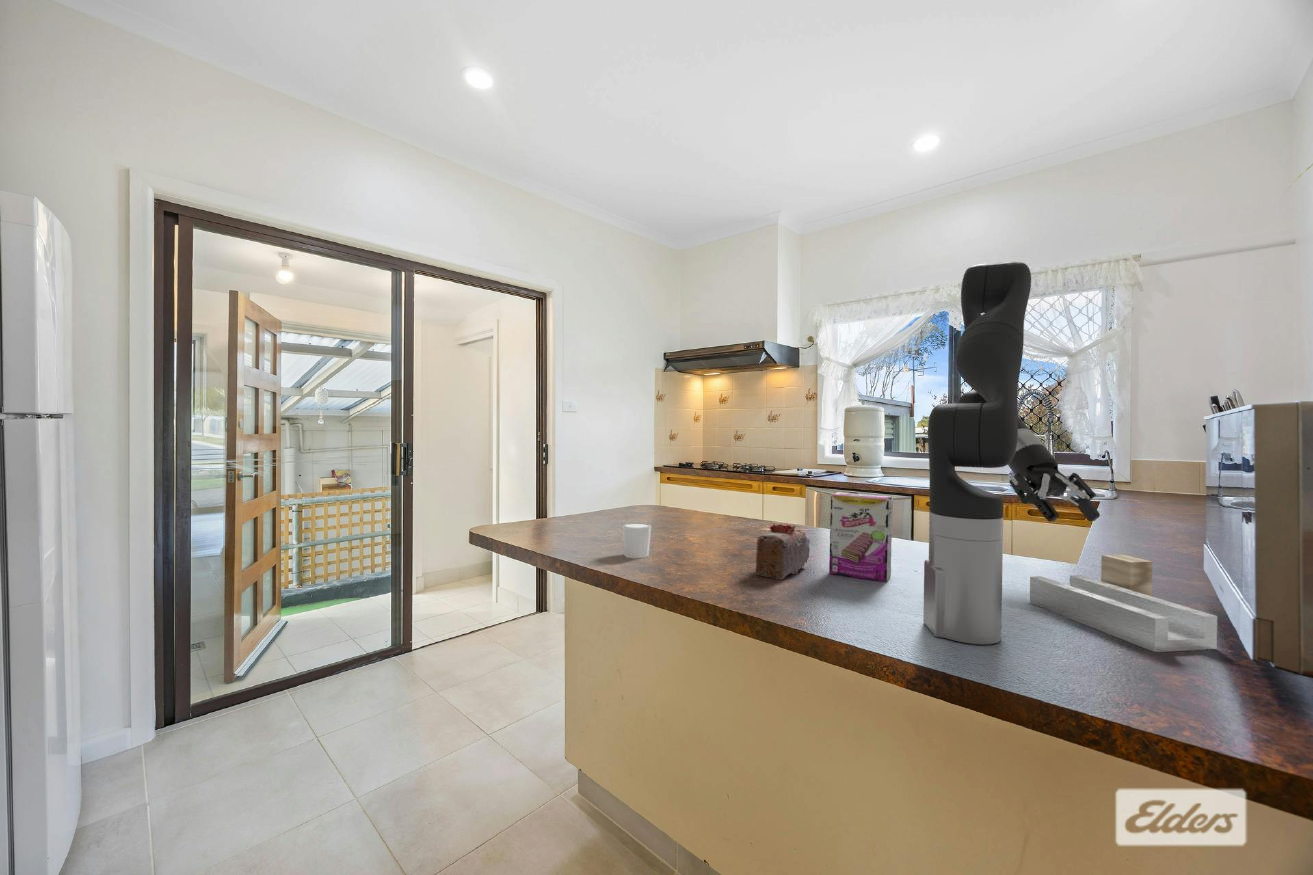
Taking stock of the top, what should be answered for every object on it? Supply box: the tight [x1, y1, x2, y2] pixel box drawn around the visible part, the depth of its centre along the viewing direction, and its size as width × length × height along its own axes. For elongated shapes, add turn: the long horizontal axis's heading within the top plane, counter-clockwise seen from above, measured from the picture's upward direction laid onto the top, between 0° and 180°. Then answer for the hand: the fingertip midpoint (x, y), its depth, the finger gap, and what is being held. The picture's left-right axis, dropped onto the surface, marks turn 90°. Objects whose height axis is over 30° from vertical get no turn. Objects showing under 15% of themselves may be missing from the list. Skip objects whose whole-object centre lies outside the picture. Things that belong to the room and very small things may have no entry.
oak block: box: [1100, 554, 1153, 597], centre depth 89 cm, size 4×5×8 cm
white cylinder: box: [621, 522, 652, 559], centre depth 121 cm, size 7×7×7 cm
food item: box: [755, 524, 811, 581], centre depth 108 cm, size 14×8×10 cm, turn 147°
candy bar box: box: [828, 491, 894, 583], centre depth 105 cm, size 11×5×16 cm, turn 58°
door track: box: [1029, 574, 1218, 653], centre depth 80 cm, size 10×20×4 cm, turn 7°
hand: (1075, 519), depth 98 cm, fingers open, 8 cm apart
